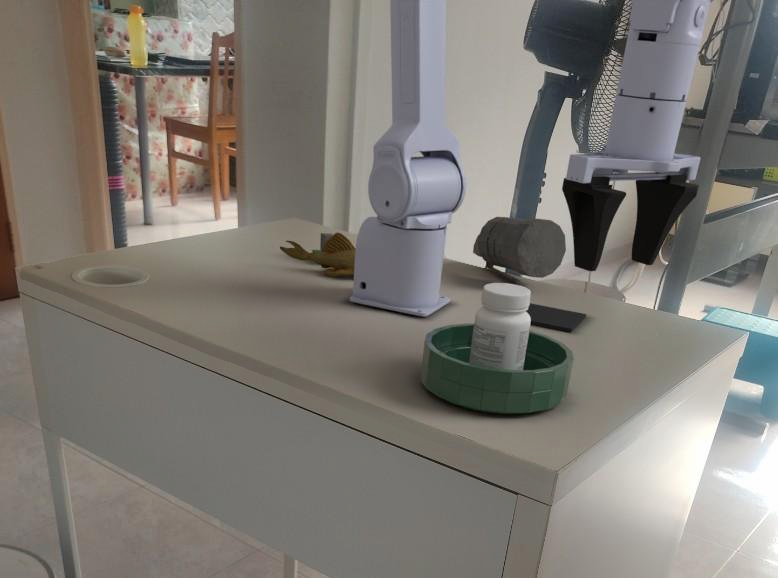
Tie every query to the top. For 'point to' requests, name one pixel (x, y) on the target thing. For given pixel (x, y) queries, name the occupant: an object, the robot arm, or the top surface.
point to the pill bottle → (501, 327)
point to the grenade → (521, 246)
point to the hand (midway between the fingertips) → (614, 265)
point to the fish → (328, 255)
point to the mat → (554, 317)
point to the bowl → (495, 373)
